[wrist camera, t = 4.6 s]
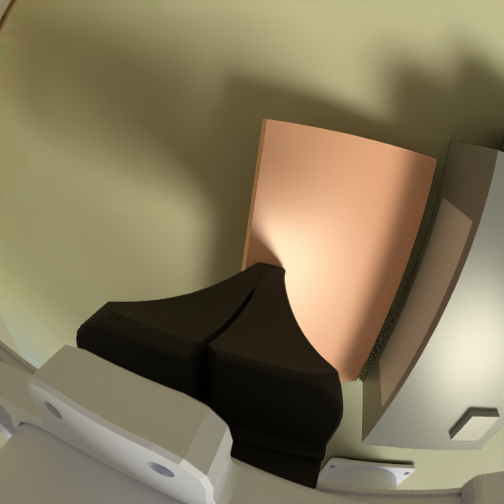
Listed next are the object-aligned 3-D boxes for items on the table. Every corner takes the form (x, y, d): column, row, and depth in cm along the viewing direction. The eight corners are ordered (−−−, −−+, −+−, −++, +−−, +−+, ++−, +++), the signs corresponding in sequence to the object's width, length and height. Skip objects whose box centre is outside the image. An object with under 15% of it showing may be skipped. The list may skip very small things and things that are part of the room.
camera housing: (466, 396, 15) (481, 454, 11) (362, 382, 17) (361, 449, 12) (571, 167, 9) (629, 190, 4) (456, 106, 10) (512, 101, 6)
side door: (356, 380, 15) (228, 387, 14) (351, 370, 16) (227, 376, 15) (437, 159, 10) (267, 119, 9) (425, 155, 11) (263, 118, 10)
